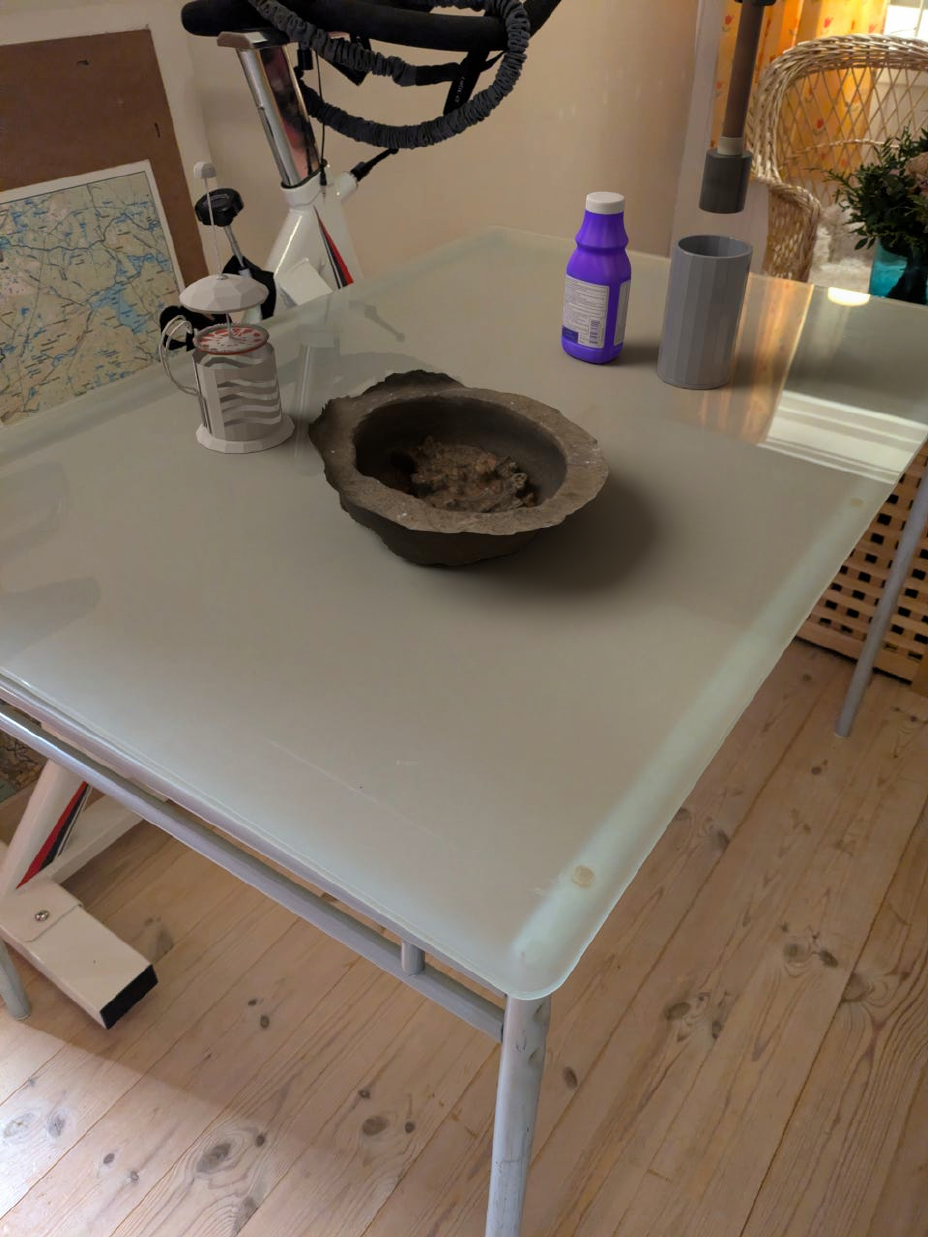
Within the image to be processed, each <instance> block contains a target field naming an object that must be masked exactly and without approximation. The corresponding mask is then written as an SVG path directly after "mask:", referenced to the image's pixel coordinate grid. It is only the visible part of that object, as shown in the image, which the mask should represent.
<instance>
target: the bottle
mask: <svg viewBox="0 0 928 1237" xmlns="http://www.w3.org/2000/svg"><path fill="white" fill-rule="evenodd" d="M625 206H626V197H625V195H622V194H621V193H618V192H613V191H594V192H590V193H589V194H587V195H586V198H585V207H584V208H585V209H584V215H583V220H582V222H581V223H582V224H581V226H580V228H579V230H578V232H576V235H575V237H574V241H575V243H576V248H575V249H574V250H573V253H572V254H571V255H570V257H569V260H568V261H567V265H566V268H565V269H566V270H565V271H566V272H565V284H564V294H563V296H564V297H563V310H562V322H561V323H562V324H561V325H562V326H561V337H560V339H561V340H560V341H561V346H562V349H563V351H564V353H566V354H568V355H569V356H571V357H574V358H576V359H578V360H581V361H585V362H588V363H591V364H592V363H593V364H605V363H607V362H610V361H611V360H615V359H616V358H617V357H618V356H619V355H620V354H621V351H622V349H623V348H624V347H623V346H624V341H625V335H626V334H625V333H626V326H627V317H628V308H629V302H630V291H631V284H632V265H631V261H630V258H629V256H628V254H627V251H626V248H627V246H628V244H629V242H630V241H629V240H630V238H629V237H628V235H627V232H626V229H625V219H624V216H625Z"/></svg>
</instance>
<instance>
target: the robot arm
mask: <svg viewBox="0 0 928 1237" xmlns="http://www.w3.org/2000/svg"><path fill="white" fill-rule="evenodd" d="M733 1H734V3H735V4H736V3H737V4H742V0H733ZM776 3H777V0H751V4H752V5H753V6H759V7H760V6H765V7H772V6H774V5H776Z"/></svg>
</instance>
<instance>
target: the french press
mask: <svg viewBox="0 0 928 1237" xmlns="http://www.w3.org/2000/svg"><path fill="white" fill-rule="evenodd" d="M193 176H194V178H196V179H200V180H201V179H202V180H204V185H205V193H206V198H207V204H208V211H209V217H210V224H211V229H212V235H213V242H214V248H215V253H216V261H217V267H218V274H212V275H210V274H209V275H208V276H206V277H203V278H200V279H198V280H197V281H195V282H193V283H191V284H190V285H188V286H187V287H186V288H185V289H184V290H183V291H182V292H181V293H180V294H179V296H178V298H179V301H180V304H181V305H182V307H184V308H185V309H187V310H189V311H190V312H193V313H200V314H206V315H207V314H209V315H210V314H211V315H224V314H225V315H226V316H225V317H226V322H225V323H221V324H220V323H217V324H214V325H212V326H206V327H205V328H203V329H201V330H200V331H197V332H196V333H195V334H194V336H193V338H192V339H191V342H192V344H193V346H194V347H195V348H194V351H193V352H192V354H191V358H192V359H191V360H192V363H193V369H194V374H195V379H196V385H197V389H196V388H195V387H192V386H188V385H184V384H181V383H180V382H179V381H177V380H176V379H175V377H174V376H173V374H172V372H171V370H170V364H169V358H168V355H169V347H170V343H171V340H172V339H173V337H174V336H175V334H176V332H177V331H178V329H180V328H181V327H182V326H184V330H186V332H187V333H188V334H190V335H192V334H193V326H192V323H191V321H189V320H187V319H186V317H185V316H184V315H183V314H180V315H179V314H178V315H176V316H175V317H174V318H173V319H171V320H170V321H168V322H167V324H166V325H165V327H164V329H163V331H162V333H161V336H160V339H159V346H158V354H159V359H160V363H161V366H162V368H163V371H164V373H165V375H166V376H167V377H168V378H169V380H170V381H171V382H172V383H173V384H174V386H175V387H176V389H178V390H180V391H182V392H183V393H185V394H187V395H191V396H194V397H197V403H198V408H199V413H200V418H201V424H200V425H199V427H198V429H197V430H196V432H195V436H196V439H197V442H198V443H199V444H201V445H202V446H203V447H205V448H206V449H208V450H211V451H214V452H220V453H224V454H249V453H255V452H261V451H262V452H263V451H265V450H268V449H270V448H273V447H276V446H278V445H281V444H282V443H283V442H285V441H287V439H289V438H290V437H291V436H292V435H293V432H294V430H295V427H296V425H295V424H294V422H293V419H292V418H291V417H290V416H288V415H287V414H286V413H284V412H283V406H282V399H281V392H280V383H279V376H278V368H277V360H276V351H275V347H274V346H273V344H272V343H271V342H269V338H270V333H269V331H268V329H266V328H264V327H263V326H260V325H259V324H257V325H256V324H253V323H251V324H250V323H249V322H248V323H247V322H245V323H244V322H235V323H234V322H231V321H230V318H229V314H233V313H240V312H244V311H247V310H250V309H255V308H256V307H258V306H261V305H263V304H264V303H265V302H266V300H267V298H268V296H269V294H270V291H269V289H268V288H267V286H266V285H265V284H263V283H261V282H259V281H258V280H256V279H254V278H253V277H249V276H244V275H238V274H233V273H222V267H221V261H220V254H219V248H218V242H217V235H216V230H215V224H214V217H213V216H214V215H213V210H212V205H211V199H210V192H209V186H208V179H213V178H216V177H217V171H216V168H215V166H214V164H213V163H212V162H210V161H207V160H206V161H205V160H203V161H198V162H197V163H196V164H195V165H194V166H193ZM178 319H182V321H181V322H179V324H177V326H175V327H174V328H173V329H172V331H171V333H170V335H169V336H168V338H167V341H166V344H165V345H166V346H165V353H163V346H164V340H165V337H166V333H167V332H168V331H169V328H170V327H171V325H172V324H174V322H176V321H177V320H178ZM207 355H212V357H211V358H210V359H208V360H207V361H206V362H204V364H203V365H201V362H202V360H203V358H204V357H206V356H207ZM226 356H240V357H242V358H248V359H251V360H261V362H259V363H256V364H251V363H248V362H244V361H239V360H236V359H234V358H233V359H232V358H230V357H226ZM219 364H226V365H228V366H229V365H230V366H233V367H236V368H214V367H212V366H214V365H219ZM236 380H241V381H244V382H249V383H253V384H264V387H262V386H255V385H245V384H241V383H236V382H234V381H236ZM221 388H223V389H221ZM189 390H191V391H193V392H191V391H189ZM240 393H244V394H245V393H247V394H253V395H256V396H257V395H258V396H266V399H259V398H253V397H247V396H244V395H240Z"/></svg>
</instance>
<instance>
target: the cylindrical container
mask: <svg viewBox="0 0 928 1237" xmlns="http://www.w3.org/2000/svg"><path fill="white" fill-rule="evenodd" d="M753 253H754V245H752V243H750V242H749V241H747V240H744V239H743V238H739V237H736V236H733V235H725V234H719V233H695V234H686V235H683V236H680V237H678V238H677V239H675V240H674V241H673V244H672V250H671V259H670V265H669V273H668V282H667V289H666V296H665V303H664V311H663V317H662V319H663V320H662V326H661V334H660V341H659V348H658V356H657V362H656V363H657V364H656V374H657V376H658V378H659V379H660V380H662V381H663V382H665V383H667V384H669V385H671V386H674V387H678V388H680V389H681V388H682V389H687V390H712V389H716V388H719V387H722V386H724V385H726V384H727V383H728V382H729V381H730V377H731V373H732V368H733V363H734V361H733V360H734V358H735V357H734V356H735V350H736V346H737V340H738V335H739V330H740V326H741V325H740V324H741V318H742V314H743V307H744V302H745V298H746V297H745V296H746V292H747V287H748V280H749V277H750V276H749V275H750V272H751V271H750V269H751V264H752V259H753V255H754V254H753Z"/></svg>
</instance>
